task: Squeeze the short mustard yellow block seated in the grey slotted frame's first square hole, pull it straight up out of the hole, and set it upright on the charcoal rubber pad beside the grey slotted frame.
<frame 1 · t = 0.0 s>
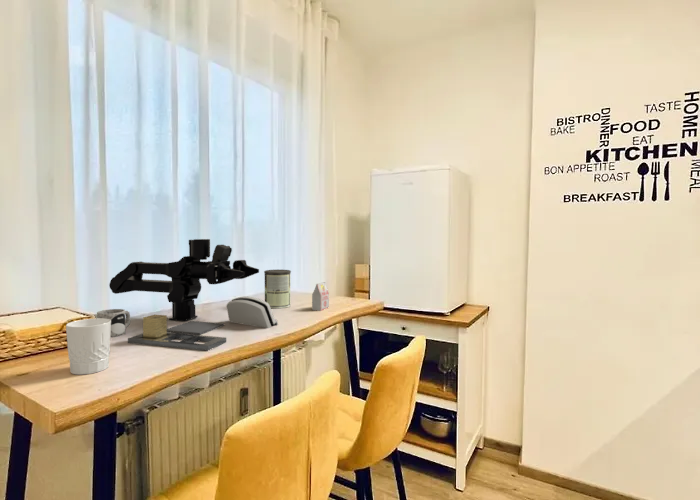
hand: (251, 272, 123), 17 cm above the table, tool horizontal, fingers open, 9 cm apart
grey rounded two-tone device: (250, 325, 123), on the table
milk carton: (320, 309, 149), on the table
rubber pad: (195, 328, 117), on the table
coffee can: (277, 306, 154), on the table
mustard yellow block: (155, 340, 104), resting in grey slotted frame
mug: (116, 333, 111), on the table
grey slotted frame: (177, 342, 102), on the table
white cup: (90, 370, 82), on the table
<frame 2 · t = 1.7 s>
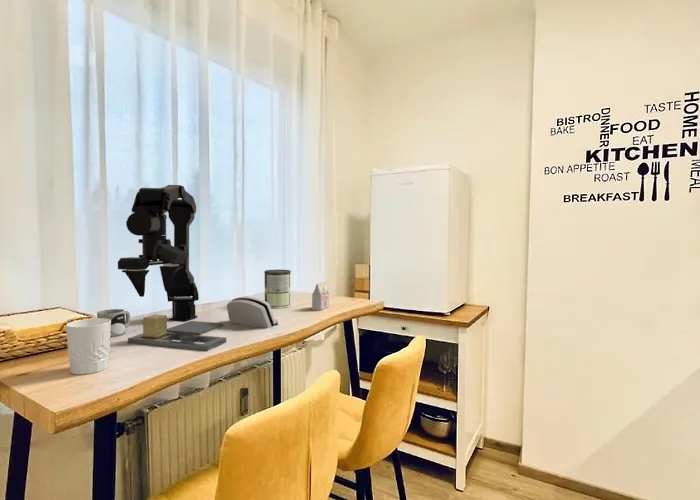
hand: (155, 293, 104), 13 cm above the table, tool pointing down, fingers open, 9 cm apart
nothing on the table moved.
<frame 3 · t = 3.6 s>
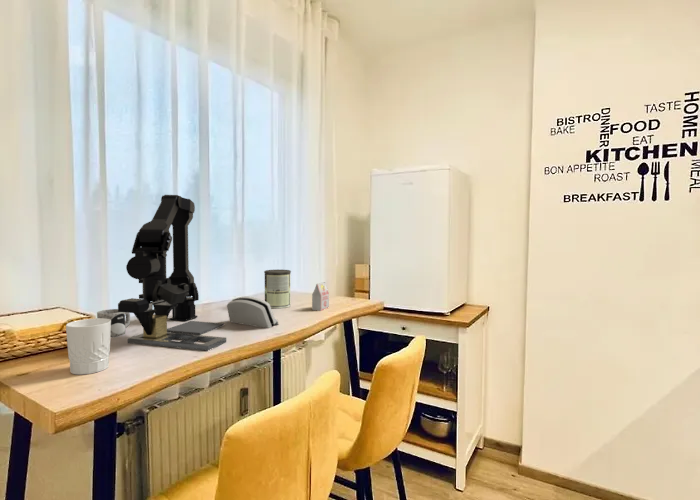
hand: (155, 332, 104), 2 cm above the table, tool pointing down, fingers closed on mustard yellow block, 4 cm apart
mustard yellow block: (155, 340, 104), resting in grey slotted frame, touching gripper
everything else where it was.
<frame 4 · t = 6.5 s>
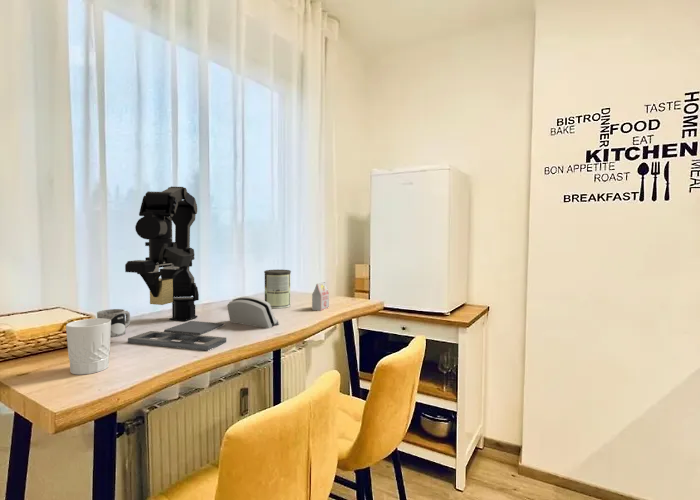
hand: (161, 295, 106), 12 cm above the table, tool pointing down, fingers closed on mustard yellow block, 4 cm apart
mustard yellow block: (161, 303, 106), point 10 cm above the table, touching gripper
everything else where it was.
when the fingers open (4 cm above the table, at t = 9.5 s): mustard yellow block stays where it is, resting on rubber pad.
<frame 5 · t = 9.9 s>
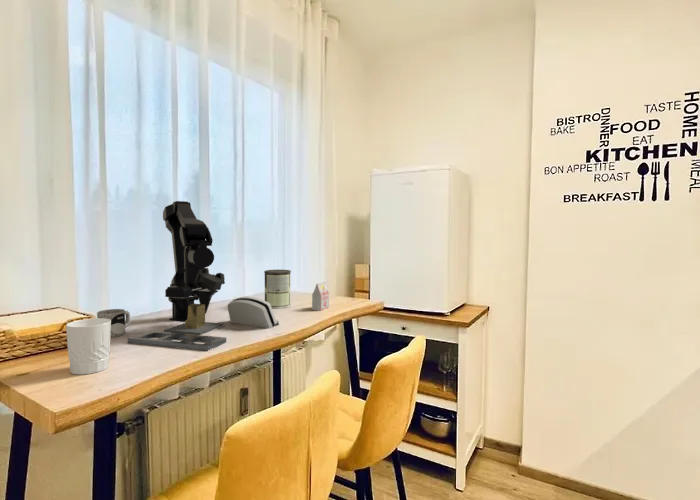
hand: (195, 316, 117), 4 cm above the table, tool pointing down, fingers open, 9 cm apart
mustard yellow block: (195, 326, 117), point 1 cm above the table, touching rubber pad
everything else where it was.
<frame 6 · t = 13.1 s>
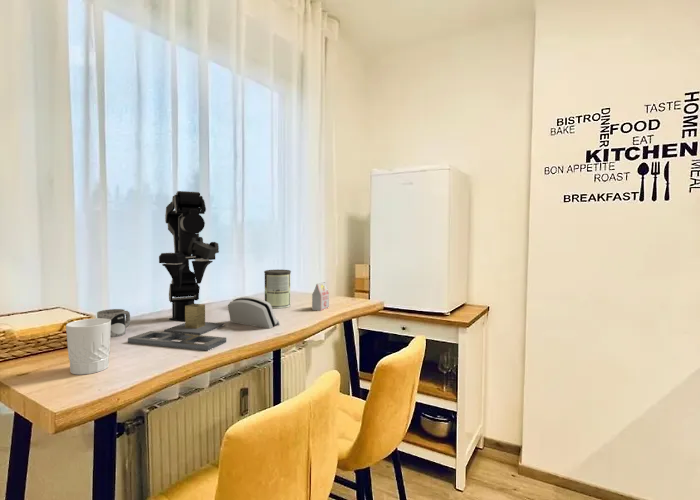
hand: (189, 285, 117), 13 cm above the table, tool pointing down, fingers open, 9 cm apart
nothing on the table moved.
at the end: mustard yellow block inside the target area on the rubber pad (0.0 cm from its centre), point 0.6 cm above the rubber pad's base; mustard yellow block tilted 0°; the gripper is holding nothing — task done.
